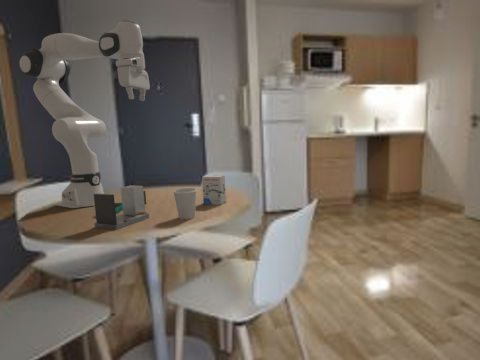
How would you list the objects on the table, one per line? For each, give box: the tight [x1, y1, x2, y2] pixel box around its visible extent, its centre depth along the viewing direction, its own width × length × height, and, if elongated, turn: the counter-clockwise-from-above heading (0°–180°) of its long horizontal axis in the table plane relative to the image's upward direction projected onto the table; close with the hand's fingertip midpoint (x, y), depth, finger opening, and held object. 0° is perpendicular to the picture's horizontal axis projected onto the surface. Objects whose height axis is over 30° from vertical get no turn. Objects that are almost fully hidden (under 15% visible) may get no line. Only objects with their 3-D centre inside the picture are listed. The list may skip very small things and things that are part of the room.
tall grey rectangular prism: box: [120, 184, 148, 216], centre depth 132 cm, size 9×6×10 cm
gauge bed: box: [93, 193, 150, 231], centre depth 127 cm, size 10×16×12 cm, turn 153°
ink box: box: [201, 174, 227, 206], centre depth 150 cm, size 9×5×12 cm, turn 68°
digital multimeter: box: [95, 202, 123, 215], centre depth 145 cm, size 7×15×3 cm, turn 0°
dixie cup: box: [172, 187, 198, 220], centre depth 129 cm, size 8×8×10 cm
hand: (137, 99), depth 145 cm, fingers open, 8 cm apart
